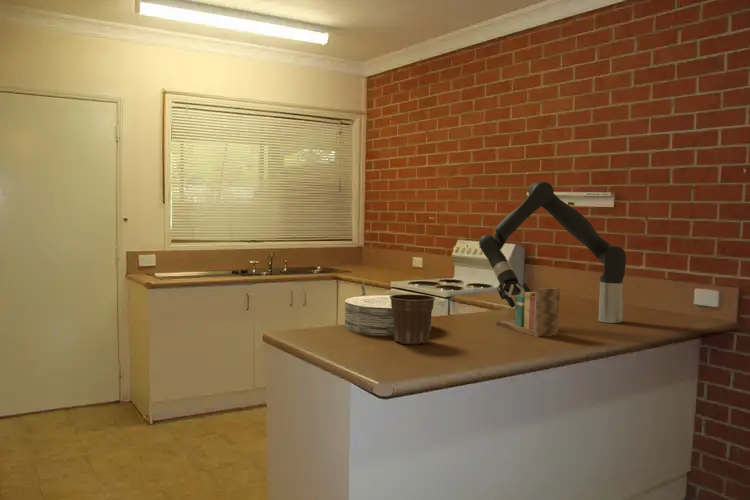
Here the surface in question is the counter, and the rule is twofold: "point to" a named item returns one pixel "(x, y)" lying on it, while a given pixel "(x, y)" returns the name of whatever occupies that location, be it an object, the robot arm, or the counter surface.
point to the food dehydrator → (370, 314)
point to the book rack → (538, 313)
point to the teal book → (519, 310)
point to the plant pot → (412, 318)
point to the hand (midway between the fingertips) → (522, 305)
